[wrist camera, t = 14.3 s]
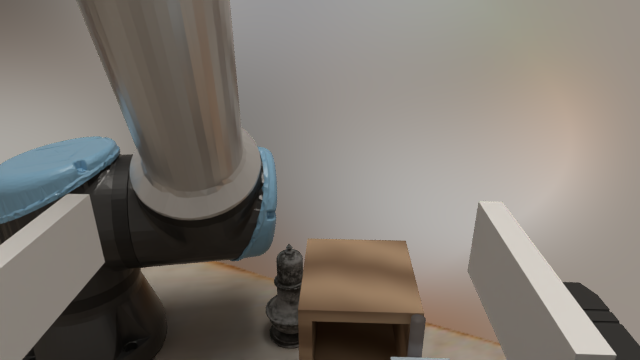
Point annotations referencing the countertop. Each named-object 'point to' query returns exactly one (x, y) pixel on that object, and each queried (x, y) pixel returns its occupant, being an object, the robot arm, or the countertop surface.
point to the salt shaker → (286, 299)
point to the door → (412, 359)
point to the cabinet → (359, 301)
